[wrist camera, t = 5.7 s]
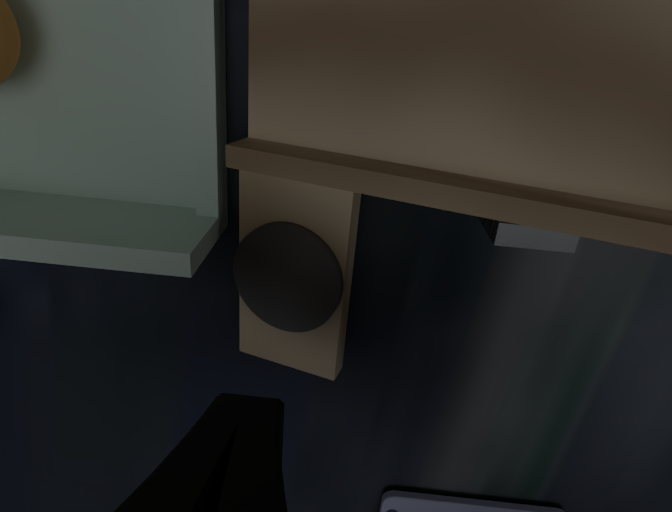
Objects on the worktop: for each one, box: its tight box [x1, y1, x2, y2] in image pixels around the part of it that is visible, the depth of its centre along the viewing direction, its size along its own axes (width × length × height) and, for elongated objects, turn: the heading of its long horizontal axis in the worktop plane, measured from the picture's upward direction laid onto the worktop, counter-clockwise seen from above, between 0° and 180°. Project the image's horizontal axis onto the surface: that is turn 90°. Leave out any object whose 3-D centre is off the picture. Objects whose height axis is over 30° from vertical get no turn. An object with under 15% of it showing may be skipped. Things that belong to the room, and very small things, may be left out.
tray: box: [0, 0, 228, 278], centre depth 12 cm, size 11×9×4 cm
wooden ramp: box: [225, 0, 672, 381], centre depth 13 cm, size 13×16×5 cm
